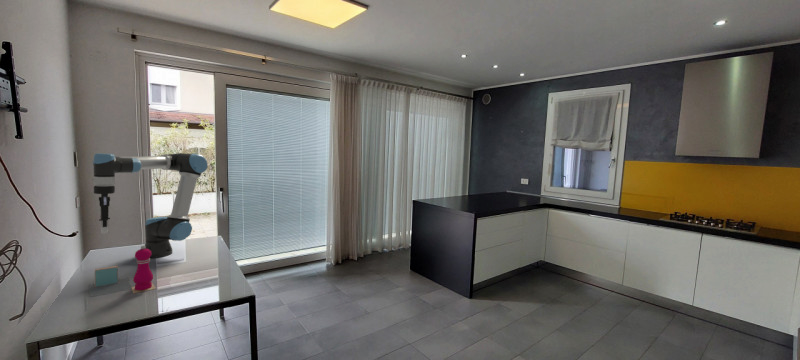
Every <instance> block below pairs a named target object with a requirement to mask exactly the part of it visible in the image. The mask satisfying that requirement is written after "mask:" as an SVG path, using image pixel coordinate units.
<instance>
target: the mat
mask: <svg viewBox="0 0 800 360" xmlns="http://www.w3.org/2000/svg"><path fill="white" fill-rule="evenodd" d="M131 287H132V286H131V283H130V280H129V277H127V278H121V279H118V283H116V284H110V285H105V286H99V287H95V283H92V284H88V292H89V293H88V296H89V298H93V297H99V296H104V295H108V294H114V293H120V292H124V291H128V290H132V288H131Z"/></svg>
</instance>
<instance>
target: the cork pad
mask: <svg viewBox="0 0 800 360" xmlns="http://www.w3.org/2000/svg"><path fill="white" fill-rule="evenodd" d="M131 288H132V289H131V292H132V294H138V293H143V292H147V291H148V292H149V291H151V290H156V287H155V285H154V282H152V287H151V288H148V289H145V290H135V285H134V286H131Z"/></svg>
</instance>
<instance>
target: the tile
mask: <svg viewBox="0 0 800 360" xmlns="http://www.w3.org/2000/svg"><path fill="white" fill-rule="evenodd" d="M118 280H119V266H118V265H112V266H107V267H101V268H95V269H94V284H95V287H99V286H105V285H110V284H116V283H118Z"/></svg>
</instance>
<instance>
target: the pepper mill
mask: <svg viewBox="0 0 800 360" xmlns="http://www.w3.org/2000/svg"><path fill="white" fill-rule="evenodd" d="M145 248H146V246H145V245H141V247H140V249H138V250H137V251H135V253H134V257H135V259H136V260H135V261H136V264H137V268H136V272H135V273H134V275H133V276H134V277H133V280H132V282H133V283H134V284H135V285H134V286H135V290H145V289H148V288H151V287H152V283H153V282H152V281H153V279H154V275H153V272H152V271H151V268H150V262H151V258H150V256H151V251H150V250H149V249H145Z"/></svg>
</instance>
